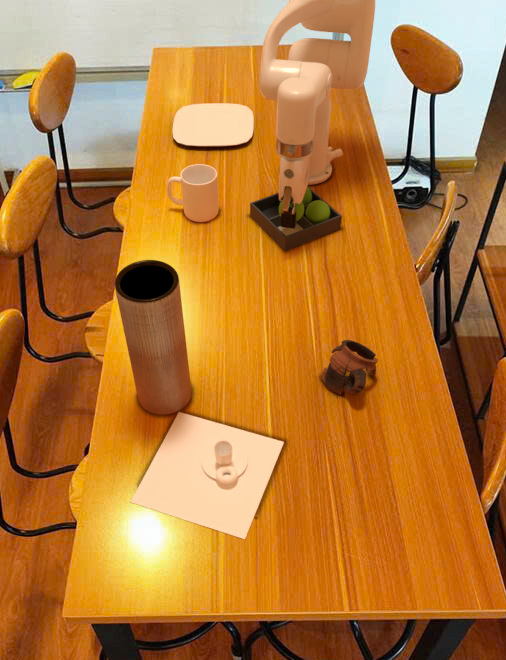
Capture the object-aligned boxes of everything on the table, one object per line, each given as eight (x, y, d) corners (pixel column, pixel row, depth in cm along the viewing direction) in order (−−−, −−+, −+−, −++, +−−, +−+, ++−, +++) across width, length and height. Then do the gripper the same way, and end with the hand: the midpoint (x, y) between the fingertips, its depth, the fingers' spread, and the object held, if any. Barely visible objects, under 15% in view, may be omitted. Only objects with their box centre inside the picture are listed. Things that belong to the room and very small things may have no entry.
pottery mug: (312, 368, 131) (331, 331, 127) (353, 379, 135) (373, 344, 131) (331, 404, 122) (353, 366, 118) (375, 415, 125) (397, 378, 121)
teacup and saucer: (236, 491, 114) (236, 477, 111) (192, 477, 116) (190, 464, 112) (254, 450, 119) (254, 436, 116) (211, 437, 121) (210, 423, 118)
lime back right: (320, 213, 160) (321, 192, 156) (333, 225, 157) (336, 205, 153) (299, 221, 159) (301, 200, 154) (313, 233, 156) (315, 213, 151)
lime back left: (302, 197, 164) (303, 176, 160) (315, 209, 161) (317, 188, 157) (282, 204, 163) (283, 184, 158) (295, 217, 160) (297, 196, 155)
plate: (253, 150, 179) (253, 144, 178) (170, 151, 179) (169, 145, 178) (253, 108, 193) (253, 102, 191) (176, 109, 193) (175, 103, 192)
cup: (215, 224, 159) (213, 186, 151) (164, 219, 161) (160, 181, 153) (222, 203, 164) (220, 165, 157) (173, 199, 166) (169, 161, 158)
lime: (294, 209, 155) (295, 188, 151) (308, 222, 152) (310, 200, 148) (273, 217, 154) (274, 195, 149) (287, 230, 151) (288, 209, 146)
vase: (192, 413, 124) (179, 299, 103) (137, 417, 124) (113, 303, 102) (190, 372, 130) (178, 256, 109) (138, 376, 130) (115, 261, 109)
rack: (303, 196, 166) (304, 182, 163) (340, 228, 158) (341, 215, 155) (250, 215, 161) (249, 202, 158) (284, 251, 153) (285, 237, 150)
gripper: (304, 169, 133) (299, 245, 147) (320, 124, 143) (314, 198, 157) (266, 164, 134) (265, 240, 148) (285, 120, 144) (282, 194, 159)
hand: (291, 218), depth 153 cm, fingers closed on lime, 5 cm apart
